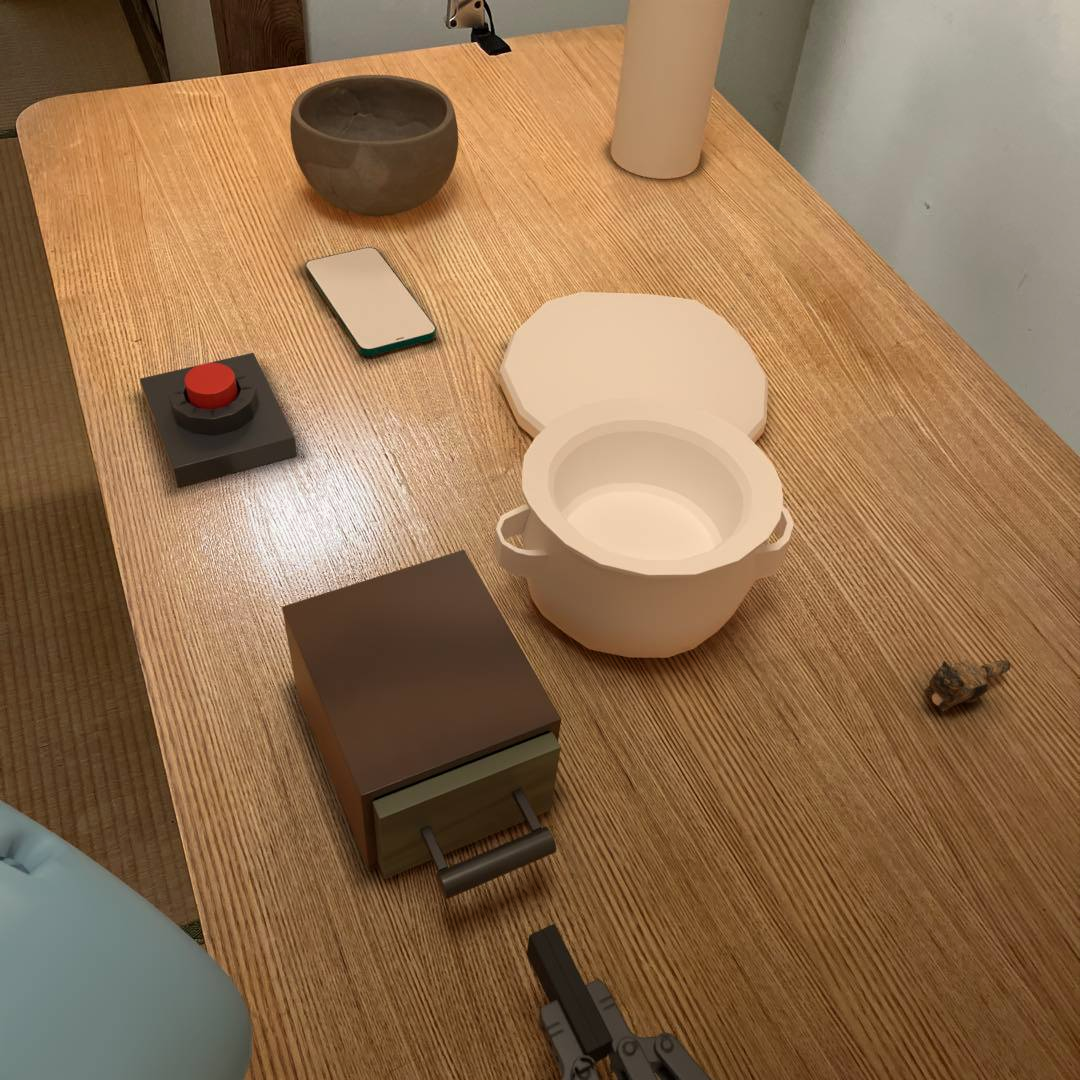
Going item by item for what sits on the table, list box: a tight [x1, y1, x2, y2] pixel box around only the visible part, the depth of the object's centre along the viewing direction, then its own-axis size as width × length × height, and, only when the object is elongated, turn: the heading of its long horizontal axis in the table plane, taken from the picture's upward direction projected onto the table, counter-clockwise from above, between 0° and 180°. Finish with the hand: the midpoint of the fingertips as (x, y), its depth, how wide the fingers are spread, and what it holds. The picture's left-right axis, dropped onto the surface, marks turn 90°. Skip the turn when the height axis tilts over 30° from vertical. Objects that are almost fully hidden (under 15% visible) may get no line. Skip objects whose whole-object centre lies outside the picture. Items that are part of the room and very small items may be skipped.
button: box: [185, 362, 237, 409], centre depth 89 cm, size 4×4×2 cm
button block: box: [139, 352, 298, 488], centre depth 91 cm, size 10×12×4 cm
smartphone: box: [304, 246, 437, 357], centre depth 105 cm, size 8×1×16 cm
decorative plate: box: [498, 291, 769, 444], centre depth 98 cm, size 25×4×25 cm
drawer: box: [372, 732, 562, 900], centre depth 67 cm, size 18×11×8 cm, turn 26°
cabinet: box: [281, 549, 562, 872], centre depth 70 cm, size 15×13×10 cm
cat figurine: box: [924, 659, 1011, 712], centre depth 78 cm, size 3×8×4 cm, turn 116°
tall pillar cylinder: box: [610, 0, 731, 180], centre depth 120 cm, size 11×11×25 cm
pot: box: [492, 398, 795, 659], centre depth 79 cm, size 22×17×12 cm
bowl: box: [289, 74, 459, 218], centre depth 116 cm, size 17×18×10 cm
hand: (540, 939), depth 58 cm, fingers closed
